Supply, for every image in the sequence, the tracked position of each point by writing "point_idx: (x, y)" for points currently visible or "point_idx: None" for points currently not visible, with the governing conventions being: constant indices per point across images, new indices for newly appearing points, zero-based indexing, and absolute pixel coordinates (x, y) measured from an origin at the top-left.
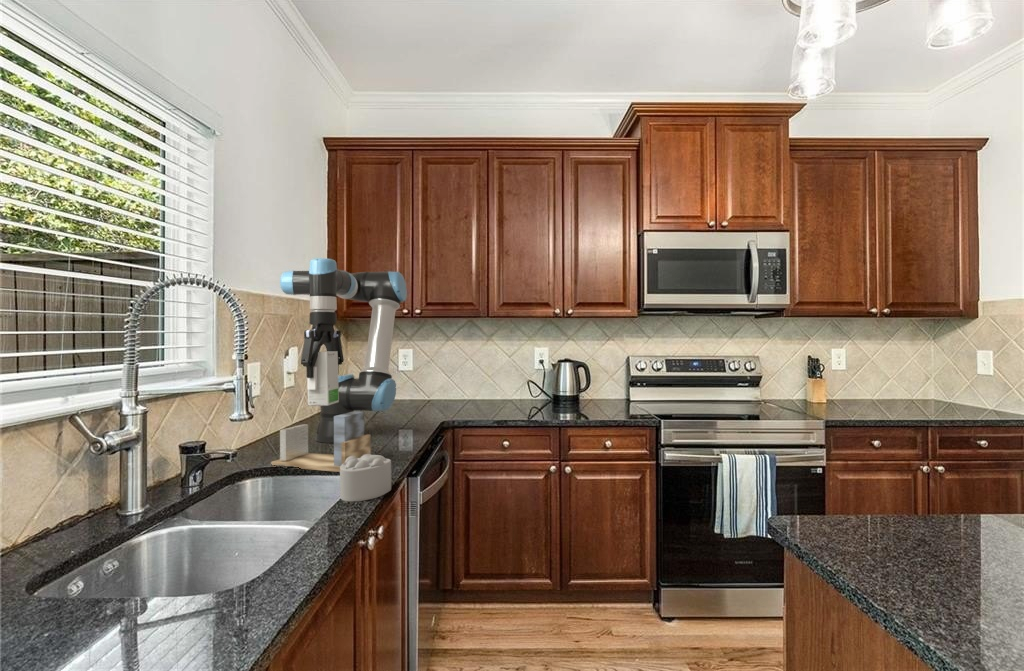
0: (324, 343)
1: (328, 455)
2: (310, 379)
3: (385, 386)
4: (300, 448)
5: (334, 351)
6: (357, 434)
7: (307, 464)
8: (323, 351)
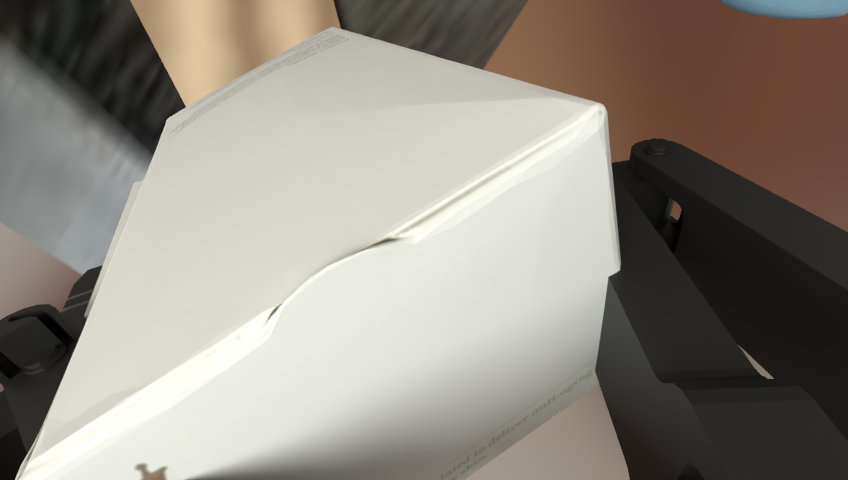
0: (684, 442)
1: (321, 16)
2: None
3: (810, 15)
4: None
5: (570, 399)
6: None
7: (175, 71)
8: (435, 422)
